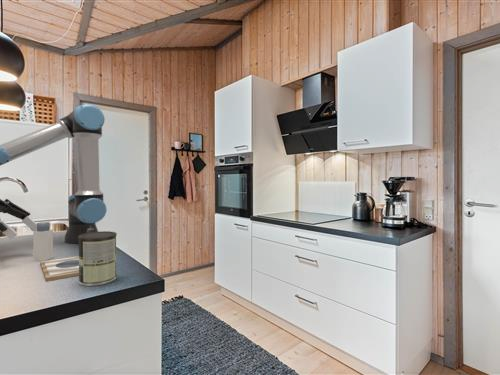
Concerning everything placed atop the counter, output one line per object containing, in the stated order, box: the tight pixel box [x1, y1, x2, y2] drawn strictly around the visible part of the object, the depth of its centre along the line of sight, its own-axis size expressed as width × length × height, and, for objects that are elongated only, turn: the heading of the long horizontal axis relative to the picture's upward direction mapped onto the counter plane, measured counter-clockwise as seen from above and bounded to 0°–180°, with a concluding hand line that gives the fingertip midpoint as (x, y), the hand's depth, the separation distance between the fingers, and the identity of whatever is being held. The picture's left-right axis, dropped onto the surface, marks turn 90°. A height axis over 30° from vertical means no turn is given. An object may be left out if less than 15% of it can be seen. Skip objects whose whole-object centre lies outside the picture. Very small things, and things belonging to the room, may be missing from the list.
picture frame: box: [39, 255, 79, 282], centre depth 98 cm, size 22×16×1 cm
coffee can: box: [78, 230, 117, 287], centre depth 86 cm, size 10×10×14 cm
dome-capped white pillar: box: [32, 221, 54, 262], centre depth 108 cm, size 4×4×14 cm
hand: (26, 233), depth 106 cm, fingers open, 13 cm apart
